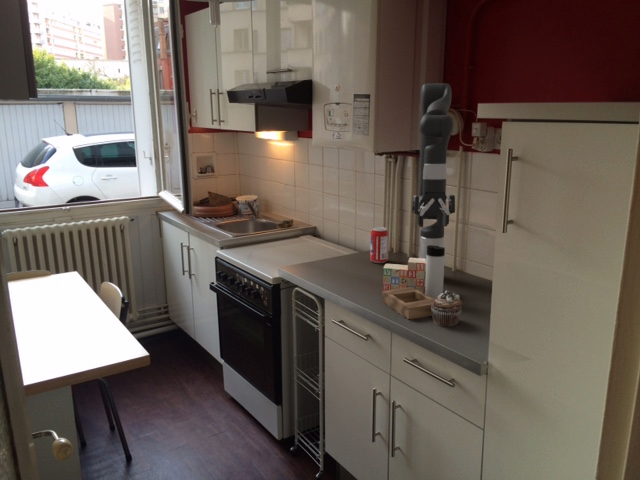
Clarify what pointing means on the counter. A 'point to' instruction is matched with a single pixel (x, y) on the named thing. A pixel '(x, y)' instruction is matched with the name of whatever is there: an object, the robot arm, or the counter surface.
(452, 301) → the cupcake
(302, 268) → the counter surface
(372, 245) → the soda can
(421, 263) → the stack of blocks
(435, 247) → the travel mug
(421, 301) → the holder board
